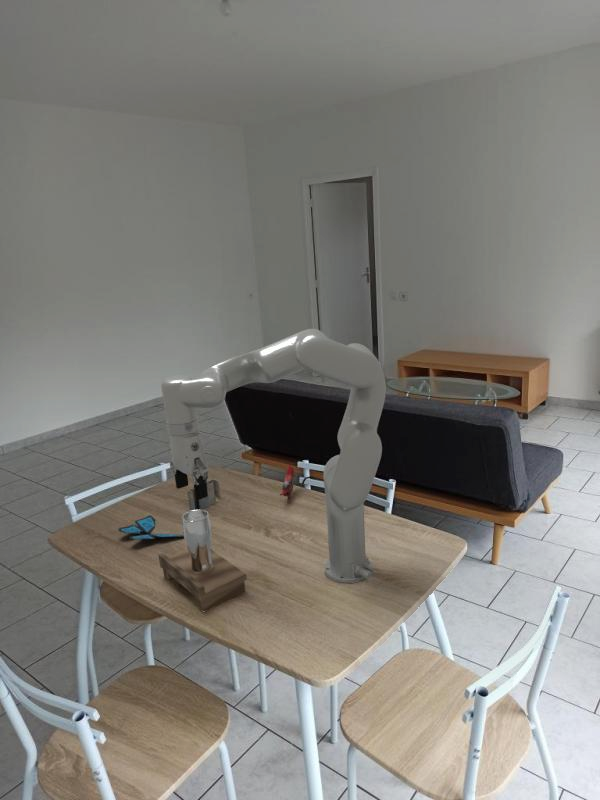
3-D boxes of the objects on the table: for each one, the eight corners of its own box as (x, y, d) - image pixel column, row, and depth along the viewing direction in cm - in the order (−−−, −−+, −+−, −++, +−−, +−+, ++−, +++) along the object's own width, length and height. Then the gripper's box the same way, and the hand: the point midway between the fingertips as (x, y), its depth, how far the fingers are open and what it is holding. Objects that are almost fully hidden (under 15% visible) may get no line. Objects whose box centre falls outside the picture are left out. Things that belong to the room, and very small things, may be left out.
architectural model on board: (195, 514, 193) (192, 487, 190) (190, 511, 194) (186, 484, 192) (221, 501, 201) (218, 475, 198) (215, 499, 203) (212, 473, 200)
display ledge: (247, 591, 147) (245, 567, 145) (203, 614, 140) (199, 588, 138) (203, 558, 164) (201, 536, 162) (161, 577, 156) (158, 554, 154)
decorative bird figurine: (297, 489, 204) (295, 463, 202) (285, 512, 188) (283, 484, 185) (289, 489, 205) (287, 463, 202) (277, 512, 188) (274, 484, 186)
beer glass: (184, 575, 147) (177, 521, 143) (193, 560, 154) (187, 508, 150) (211, 576, 146) (204, 522, 142) (219, 561, 153) (212, 509, 149)
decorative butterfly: (111, 532, 181) (110, 523, 180) (152, 518, 191) (152, 510, 190) (143, 557, 167) (143, 548, 166) (186, 541, 177) (186, 533, 176)
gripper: (215, 430, 136) (223, 497, 140) (180, 416, 149) (188, 478, 153) (186, 439, 131) (195, 508, 136) (153, 424, 144) (162, 487, 149)
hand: (191, 492), depth 145 cm, fingers open, 9 cm apart
